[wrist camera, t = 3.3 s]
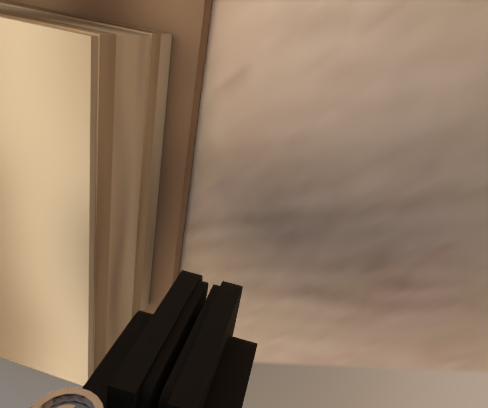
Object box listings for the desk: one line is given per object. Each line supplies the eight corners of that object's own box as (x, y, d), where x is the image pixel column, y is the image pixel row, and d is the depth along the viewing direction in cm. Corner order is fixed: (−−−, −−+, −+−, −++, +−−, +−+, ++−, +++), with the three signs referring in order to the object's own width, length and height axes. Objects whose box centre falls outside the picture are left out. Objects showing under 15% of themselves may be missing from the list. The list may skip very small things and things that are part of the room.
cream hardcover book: (174, 33, 14) (92, 34, 10) (149, 305, 19) (89, 388, 15) (-27, -8, 15) (-182, -23, 11) (0, 259, 21) (-98, 323, 16)
